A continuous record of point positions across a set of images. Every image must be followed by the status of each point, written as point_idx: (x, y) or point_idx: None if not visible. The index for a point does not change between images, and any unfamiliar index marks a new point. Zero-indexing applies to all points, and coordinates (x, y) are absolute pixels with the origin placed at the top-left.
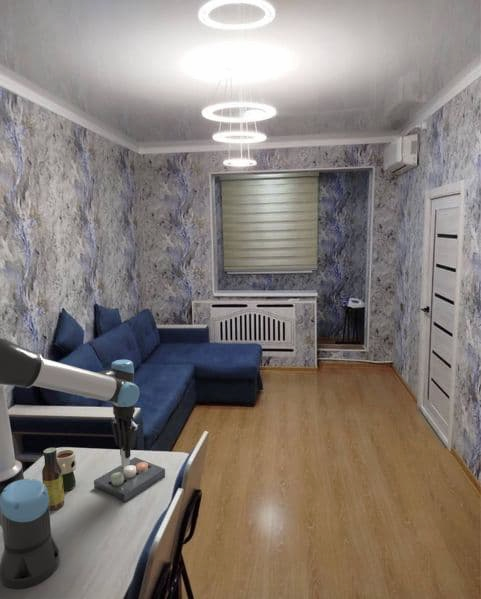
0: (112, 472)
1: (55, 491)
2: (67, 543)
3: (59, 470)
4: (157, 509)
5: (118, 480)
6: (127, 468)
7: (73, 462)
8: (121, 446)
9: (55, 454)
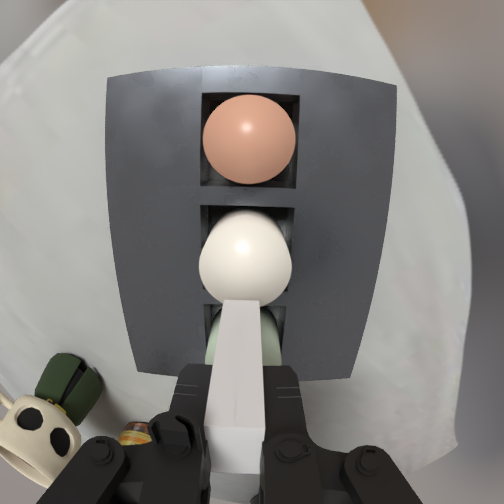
0: (137, 288)
1: None
2: None
3: None
4: (461, 312)
5: None
6: (232, 280)
7: (54, 442)
8: (209, 492)
9: None
